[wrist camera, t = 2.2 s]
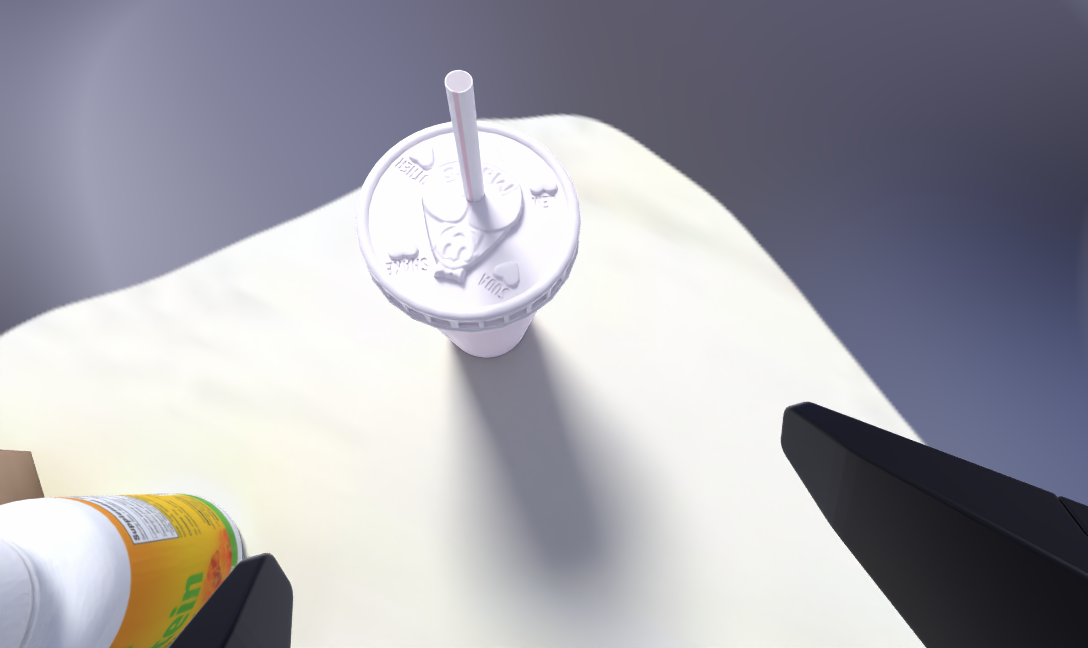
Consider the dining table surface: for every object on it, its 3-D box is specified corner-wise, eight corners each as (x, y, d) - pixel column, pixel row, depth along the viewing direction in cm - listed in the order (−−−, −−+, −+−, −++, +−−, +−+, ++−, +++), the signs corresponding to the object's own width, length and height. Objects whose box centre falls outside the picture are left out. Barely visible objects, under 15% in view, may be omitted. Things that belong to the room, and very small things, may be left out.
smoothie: (569, 271, 24) (636, 18, 11) (539, 402, 22) (575, 287, 9) (438, 241, 24) (348, -47, 11) (397, 369, 23) (228, 206, 9)
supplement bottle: (177, 676, 19) (-151, 865, 10) (68, 591, 19) (-340, 692, 10) (276, 541, 20) (76, 591, 11) (172, 466, 21) (-100, 454, 12)
